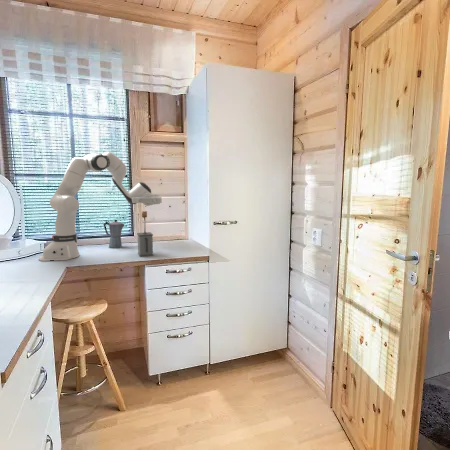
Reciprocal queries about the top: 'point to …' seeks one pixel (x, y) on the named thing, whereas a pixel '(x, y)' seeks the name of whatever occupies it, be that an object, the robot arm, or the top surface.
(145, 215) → the plunger
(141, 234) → the press
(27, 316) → the top surface
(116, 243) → the moka pot
